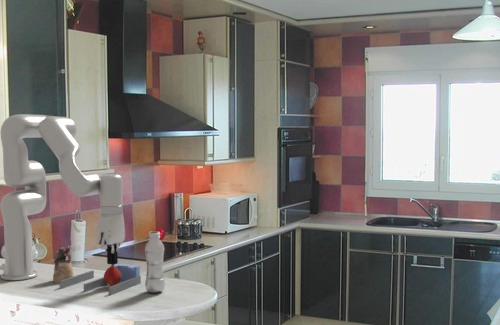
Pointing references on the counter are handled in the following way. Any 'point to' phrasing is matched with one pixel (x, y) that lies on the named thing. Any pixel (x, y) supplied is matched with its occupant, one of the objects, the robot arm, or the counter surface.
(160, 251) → the plastic bottle
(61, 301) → the counter surface
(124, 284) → the grey parallel strips
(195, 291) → the counter surface
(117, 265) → the blue bracket
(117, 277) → the pomegranate
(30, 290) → the counter surface
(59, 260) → the painted ceramic spouted vessel
